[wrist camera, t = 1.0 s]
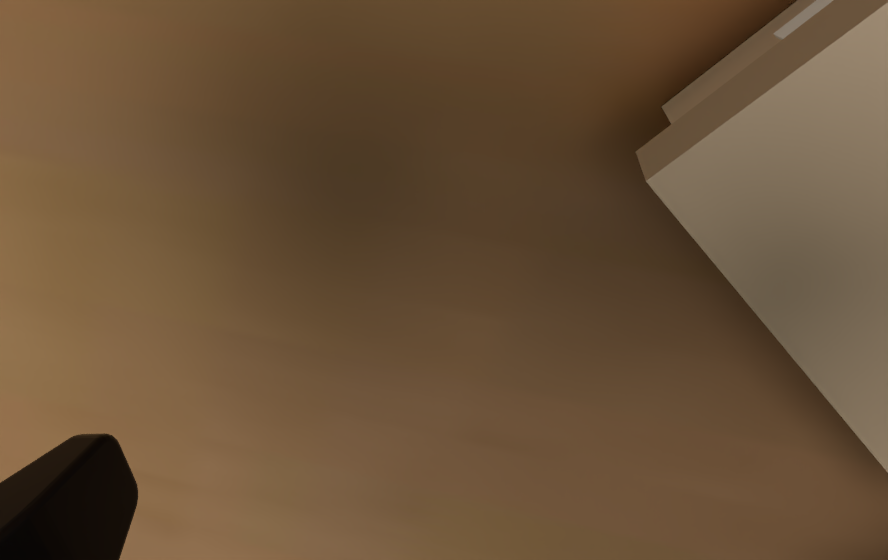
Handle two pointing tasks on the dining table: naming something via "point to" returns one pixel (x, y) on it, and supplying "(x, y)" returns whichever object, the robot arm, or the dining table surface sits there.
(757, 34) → the carton
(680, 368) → the dining table surface
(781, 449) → the dining table surface
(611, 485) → the dining table surface
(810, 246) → the lid
